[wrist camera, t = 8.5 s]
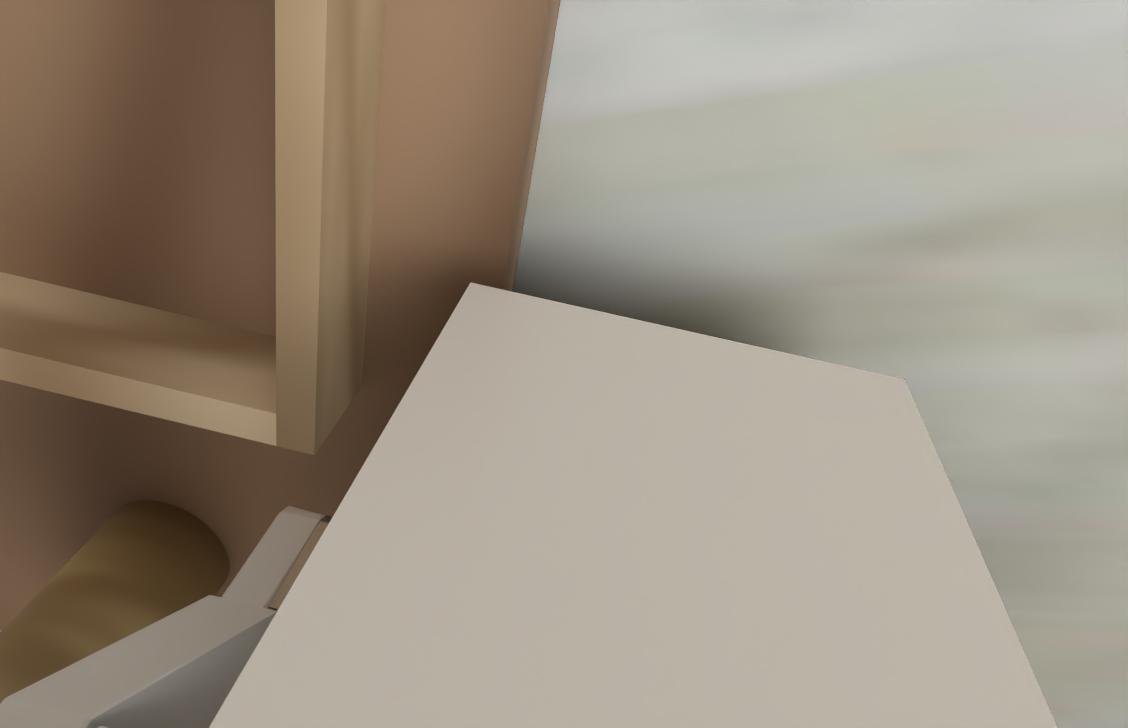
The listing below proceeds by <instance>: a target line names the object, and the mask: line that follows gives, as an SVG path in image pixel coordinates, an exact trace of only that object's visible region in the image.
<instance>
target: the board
mask: <svg viewBox="0 0 1128 728" xmlns="http://www.w3.org/2000/svg"><path fill="white" fill-rule="evenodd" d="M559 6H560V0H0V629H1V630H2V631H1V632H0V704H1V702H2V701H3V700H4V699H5V698H6V697H8V696H10V695H12V694H14V693H16V692H18V691H20V690H22V689H24V688H26V687H28V686H30V685H32V684H34V683H36V682H38V681H40V680H42V679H44V678H46V677H48V676H50V675H52V674H54V673H56V672H58V671H60V670H62V669H64V668H66V667H68V666H70V665H72V664H74V663H75V662H77V661H79V660H81V659H83V658H85V657H87V656H89V655H91V654H93V653H95V652H97V651H99V650H101V649H103V648H105V647H107V646H109V645H111V644H113V643H115V642H117V641H119V640H121V639H123V638H125V637H127V636H129V635H131V634H133V633H135V632H137V631H139V630H141V629H143V628H145V627H147V626H149V625H151V624H153V623H155V622H157V621H159V620H161V619H163V618H165V617H167V616H169V615H171V614H173V613H175V612H177V611H179V610H181V609H183V608H185V607H187V606H188V605H190V604H192V603H194V602H196V601H198V600H200V599H202V598H204V597H206V596H208V595H213V596H217V597H222V596H223V594H224V593H225V591H226V590H227V588H228V587H229V585H230V584H231V582H232V581H233V579H234V578H235V577H236V575H237V574H238V572H239V571H240V569H241V568H242V566H243V565H244V563H245V562H246V560H247V559H248V558H249V556H250V555H251V553H252V552H253V550H254V549H255V547H256V546H257V544H258V543H259V541H260V540H261V539H262V537H263V536H264V534H265V533H266V531H267V530H268V528H269V527H270V525H271V524H272V522H273V521H274V520H275V518H276V517H277V515H278V514H279V513H280V512H281V511H283V510H284V509H285V508H287V507H288V506H291V507H295V508H299V509H303V510H306V511H310V512H314V513H318V514H322V515H325V516H326V515H329V516H334V514H335V512H336V511H337V509H338V507H339V505H340V504H341V502H342V500H343V499H344V497H345V495H346V494H347V492H348V490H349V488H350V487H351V485H352V483H353V482H354V480H355V478H356V476H357V475H358V473H359V471H360V470H361V468H362V466H363V465H364V463H365V461H366V459H367V458H368V456H369V454H370V453H371V451H372V449H373V448H374V446H375V444H376V442H377V441H378V439H379V437H380V436H381V434H382V432H383V431H384V429H385V427H386V425H387V424H388V422H389V420H390V419H391V417H392V415H393V414H394V412H395V410H396V408H397V407H398V405H399V403H400V402H401V400H402V398H403V397H404V395H405V393H406V391H407V390H408V388H409V386H410V385H411V383H412V381H413V379H414V378H415V376H416V374H417V373H418V371H419V369H420V368H421V366H422V364H423V362H424V361H425V359H426V357H427V356H428V354H429V352H430V351H431V349H432V347H433V345H434V344H435V342H436V340H437V339H438V337H439V335H440V334H441V332H442V330H443V328H444V327H445V325H446V323H447V322H448V320H449V318H450V317H451V315H452V313H453V311H454V310H455V308H456V306H457V305H458V303H459V301H460V300H461V298H462V296H463V294H464V293H465V291H466V289H467V288H468V286H469V284H470V282H471V283H475V284H480V285H484V286H489V287H493V288H498V289H502V290H507V291H511V292H512V290H513V284H514V278H515V272H516V266H517V260H518V254H519V248H520V242H521V236H522V230H523V224H524V218H525V212H526V205H527V199H528V193H529V187H530V181H531V175H532V169H533V163H534V157H535V151H536V145H537V139H538V133H539V127H540V121H541V115H542V109H543V103H544V97H545V91H546V85H547V79H548V73H549V67H550V61H551V54H552V48H553V42H554V36H555V30H556V24H557V18H558V12H559Z"/></svg>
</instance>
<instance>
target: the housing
mask: <svg viewBox="0 0 1128 728" xmlns="http://www.w3.org/2000/svg"><path fill="white" fill-rule="evenodd" d="M209 728H1057V726H1056V723H1055V721H1054V719H1053V717H1052V714H1051V712H1050V710H1049V707H1048V705H1047V703H1046V701H1045V698H1044V696H1043V694H1042V691H1041V689H1040V687H1039V685H1038V682H1037V680H1036V678H1035V675H1034V673H1033V671H1032V669H1031V666H1030V664H1029V662H1028V659H1027V657H1026V655H1025V653H1024V650H1023V648H1022V646H1021V644H1020V641H1019V639H1018V637H1017V634H1016V632H1015V630H1014V628H1013V625H1012V623H1011V621H1010V618H1009V616H1008V614H1007V612H1006V609H1005V607H1004V605H1003V602H1002V600H1001V598H1000V596H999V593H998V591H997V589H996V587H995V584H994V582H993V580H992V577H991V575H990V573H989V571H988V568H987V566H986V564H985V561H984V559H983V557H982V555H981V552H980V550H979V548H978V545H977V543H976V541H975V539H974V536H973V534H972V532H971V530H970V527H969V525H968V523H967V520H966V518H965V516H964V514H963V511H962V509H961V507H960V504H959V502H958V500H957V498H956V495H955V493H954V491H953V488H952V486H951V484H950V482H949V479H948V477H947V475H946V472H945V470H944V468H943V466H942V463H941V461H940V459H939V457H938V454H937V452H936V450H935V447H934V445H933V443H932V441H931V438H930V436H929V434H928V431H927V429H926V427H925V425H924V422H923V420H922V418H921V415H920V413H919V411H918V409H917V406H916V404H915V402H914V400H913V397H912V395H911V393H910V390H909V388H908V386H907V384H906V381H905V379H901V378H896V377H892V376H887V375H883V374H878V373H874V372H870V371H865V370H861V369H856V368H852V367H847V366H843V365H838V364H834V363H829V362H825V361H820V360H816V359H811V358H807V357H802V356H798V355H793V354H789V353H784V352H780V351H775V350H771V349H767V348H762V347H758V346H753V345H749V344H744V343H740V342H735V341H731V340H726V339H722V338H717V337H713V336H708V335H704V334H699V333H695V332H690V331H686V330H681V329H677V328H672V327H668V326H664V325H659V324H655V323H650V322H646V321H641V320H637V319H632V318H628V317H623V316H619V315H614V314H610V313H605V312H601V311H596V310H592V309H587V308H583V307H578V306H574V305H569V304H565V303H561V302H556V301H552V300H547V299H543V298H538V297H534V296H529V295H525V294H520V293H516V292H511V291H507V290H502V289H498V288H493V287H489V286H484V285H480V284H475V283H471V282H470V284H469V286H468V288H467V289H466V291H465V293H464V294H463V296H462V298H461V300H460V301H459V303H458V305H457V306H456V308H455V310H454V311H453V313H452V315H451V317H450V318H449V320H448V322H447V323H446V325H445V327H444V328H443V330H442V332H441V334H440V335H439V337H438V339H437V340H436V342H435V344H434V345H433V347H432V349H431V351H430V352H429V354H428V356H427V357H426V359H425V361H424V362H423V364H422V366H421V368H420V369H419V371H418V373H417V374H416V376H415V378H414V379H413V381H412V383H411V385H410V386H409V388H408V390H407V391H406V393H405V395H404V397H403V398H402V400H401V402H400V403H399V405H398V407H397V408H396V410H395V412H394V414H393V415H392V417H391V419H390V420H389V422H388V424H387V425H386V427H385V429H384V431H383V432H382V434H381V436H380V437H379V439H378V441H377V442H376V444H375V446H374V448H373V449H372V451H371V453H370V454H369V456H368V458H367V459H366V461H365V463H364V465H363V466H362V468H361V470H360V471H359V473H358V475H357V476H356V478H355V480H354V482H353V483H352V485H351V487H350V488H349V490H348V492H347V494H346V495H345V497H344V499H343V500H342V502H341V504H340V505H339V507H338V509H337V511H336V512H335V514H334V516H333V517H332V519H331V521H330V522H329V524H328V526H327V528H326V529H325V531H324V533H323V534H322V536H321V538H320V539H319V541H318V543H317V545H316V546H315V548H314V550H313V551H312V553H311V555H310V556H309V558H308V560H307V562H306V563H305V565H304V567H303V568H302V570H301V572H300V573H299V575H298V577H297V579H296V580H295V582H294V584H293V585H292V587H291V589H290V591H289V592H288V594H287V596H286V597H285V599H284V601H283V602H282V604H281V606H280V608H279V609H278V611H277V613H276V614H275V616H274V618H273V619H272V621H271V623H270V625H269V626H268V628H267V630H266V631H265V633H264V635H263V636H262V638H261V640H260V642H259V643H258V645H257V647H256V648H255V650H254V652H253V653H252V655H251V657H250V659H249V660H248V662H247V664H246V665H245V667H244V669H243V670H242V672H241V674H240V676H239V677H238V679H237V681H236V682H235V684H234V686H233V688H232V689H231V691H230V693H229V694H228V696H227V698H226V699H225V701H224V703H223V705H222V706H221V708H220V710H219V711H218V713H217V715H216V716H215V718H214V720H213V722H212V723H211V725H210V727H209Z"/></svg>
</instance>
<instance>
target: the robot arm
mask: <svg viewBox="0 0 1128 728" xmlns="http://www.w3.org/2000/svg"><path fill="white" fill-rule="evenodd" d="M332 517H333V516H329V515H326V516H325V515H322V514H318V513H314V512H310V511H306V510H303V509H299V508H295V507H291V506H288V507H287V508H285V509H284V510H283V511H281V512H280V513H279V514H278V515H277V517H276V518H275V520H274V521H273V522H272V524H271V525H270V527H269V528H268V530H267V531H266V533H265V534H264V536H263V537H262V539H261V540H260V541H259V543H258V544H257V546H256V547H255V549H254V550H253V552H252V553H251V555H250V556H249V558H248V559H247V560H246V562H245V563H244V565H243V566H242V568H241V569H240V571H239V572H238V574H237V575H236V577H235V578H234V579H233V581H232V582H231V584H230V585H229V587H228V588H227V590H226V591H225V593H224V594H223V596H222V597H217V596H213V595H208V596H206V597H204V598H202V599H200V600H198V601H196V602H194V603H192V604H190V605H188V606H187V607H185V608H183V609H181V610H179V611H177V612H175V613H173V614H171V615H169V616H167V617H165V618H163V619H161V620H159V621H157V622H155V623H153V624H151V625H149V626H147V627H145V628H143V629H141V630H139V631H137V632H135V633H133V634H131V635H129V636H127V637H125V638H123V639H121V640H119V641H117V642H115V643H113V644H111V645H109V646H107V647H105V648H103V649H101V650H99V651H97V652H95V653H93V654H91V655H89V656H87V657H85V658H83V659H81V660H79V661H77V662H75V663H74V664H72V665H70V666H68V667H66V668H64V669H62V670H60V671H58V672H56V673H54V674H52V675H50V676H48V677H46V678H44V679H42V680H40V681H38V682H36V683H34V684H32V685H30V686H28V687H26V688H24V689H22V690H20V691H18V692H16V693H14V694H12V695H10V696H8V697H6V698H5V699H4V700H3V701H2V702H1V704H0V728H209V727H210V725H211V723H212V722H213V720H214V718H215V716H216V715H217V713H218V711H219V710H220V708H221V706H222V705H223V703H224V701H225V699H226V698H227V696H228V694H229V693H230V691H231V689H232V688H233V686H234V684H235V682H236V681H237V679H238V677H239V676H240V674H241V672H242V670H243V669H244V667H245V665H246V664H247V662H248V660H249V659H250V657H251V655H252V653H253V652H254V650H255V648H256V647H257V645H258V643H259V642H260V640H261V638H262V636H263V635H264V633H265V631H266V630H267V628H268V626H269V625H270V623H271V621H272V619H273V618H274V616H275V614H276V613H277V611H278V609H279V608H280V606H281V604H282V602H283V601H284V599H285V597H286V596H287V594H288V592H289V591H290V589H291V587H292V585H293V584H294V582H295V580H296V579H297V577H298V575H299V573H300V572H301V570H302V568H303V567H304V565H305V563H306V562H307V560H308V558H309V556H310V555H311V553H312V551H313V550H314V548H315V546H316V545H317V543H318V541H319V539H320V538H321V536H322V534H323V533H324V531H325V529H326V528H327V526H328V524H329V522H330V521H331V519H332Z"/></svg>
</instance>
